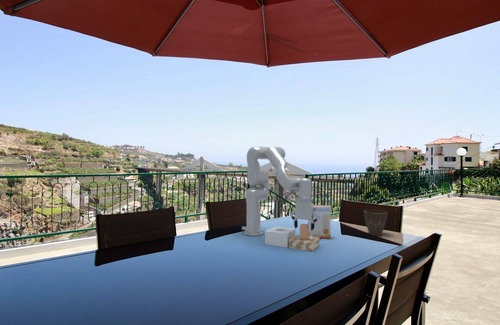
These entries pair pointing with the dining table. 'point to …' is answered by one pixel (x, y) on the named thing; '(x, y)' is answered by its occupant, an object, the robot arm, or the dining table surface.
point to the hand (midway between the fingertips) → (304, 228)
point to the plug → (304, 232)
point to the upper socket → (279, 236)
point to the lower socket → (304, 243)
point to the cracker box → (321, 222)
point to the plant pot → (375, 221)
